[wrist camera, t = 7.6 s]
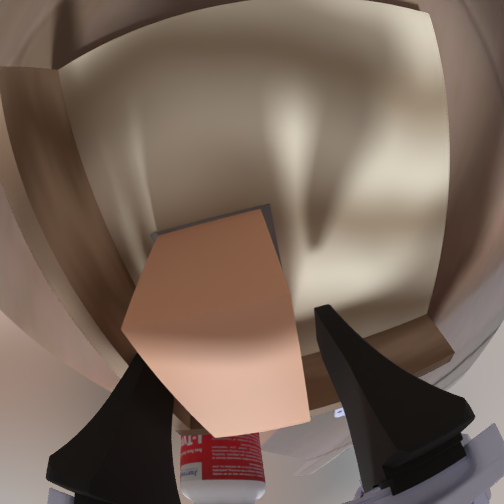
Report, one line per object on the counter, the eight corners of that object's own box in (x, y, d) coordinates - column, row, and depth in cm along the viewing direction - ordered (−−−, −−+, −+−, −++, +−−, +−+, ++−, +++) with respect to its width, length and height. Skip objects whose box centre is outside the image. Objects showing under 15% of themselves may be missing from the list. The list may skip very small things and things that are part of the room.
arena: (419, 316, 17) (450, 361, 13) (184, 377, 18) (181, 436, 14) (419, 16, 7) (485, 4, 3) (50, 81, 8) (-20, 84, 3)
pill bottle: (190, 381, 18) (190, 523, 8) (266, 392, 20) (287, 519, 10) (176, 413, 21) (175, 523, 11) (240, 422, 22) (251, 524, 13)
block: (157, 236, 11) (120, 329, 6) (260, 208, 11) (290, 293, 6) (213, 353, 15) (215, 437, 10) (288, 337, 15) (310, 421, 10)
